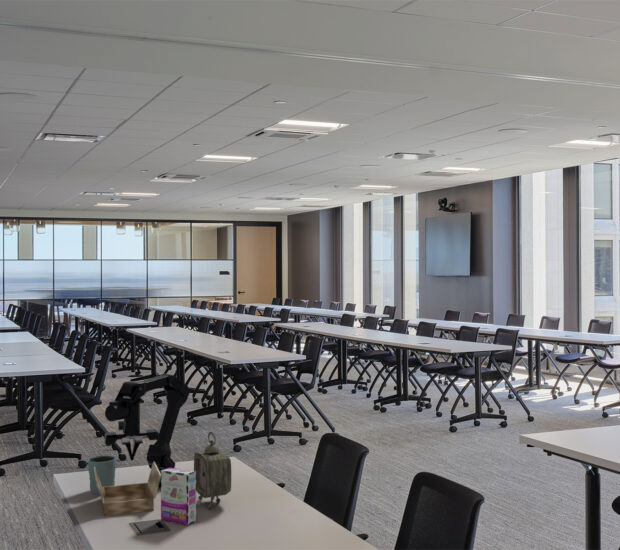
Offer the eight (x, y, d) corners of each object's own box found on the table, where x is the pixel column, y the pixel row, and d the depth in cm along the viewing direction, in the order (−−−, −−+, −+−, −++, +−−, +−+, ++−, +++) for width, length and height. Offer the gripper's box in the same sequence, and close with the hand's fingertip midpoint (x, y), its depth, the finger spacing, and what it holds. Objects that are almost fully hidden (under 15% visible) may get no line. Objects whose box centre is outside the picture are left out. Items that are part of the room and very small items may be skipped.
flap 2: (159, 475, 251) (161, 475, 252) (153, 461, 270) (154, 461, 270) (153, 498, 251) (155, 498, 251) (147, 483, 269) (148, 483, 269)
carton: (147, 493, 269) (147, 482, 269) (153, 510, 250) (153, 498, 250) (101, 498, 264) (101, 486, 264) (104, 515, 245) (104, 503, 245)
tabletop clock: (193, 499, 262) (193, 429, 262) (217, 496, 266) (217, 427, 266) (207, 511, 249) (207, 437, 249) (232, 507, 254) (232, 434, 253)
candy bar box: (197, 521, 240) (197, 470, 240) (187, 526, 235) (187, 474, 235) (169, 515, 245) (169, 466, 245) (160, 520, 241) (160, 470, 240)
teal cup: (111, 495, 268) (111, 462, 268) (83, 494, 268) (83, 461, 268) (119, 486, 278) (119, 455, 278) (92, 486, 278) (92, 455, 278)
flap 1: (94, 466, 263) (93, 466, 263) (97, 480, 245) (95, 481, 245) (101, 487, 264) (100, 487, 264) (104, 503, 246) (103, 503, 246)
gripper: (155, 411, 277) (155, 452, 277) (103, 414, 271) (103, 456, 271) (159, 416, 267) (159, 460, 267) (105, 420, 261) (105, 464, 261)
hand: (131, 460), depth 267 cm, fingers closed
